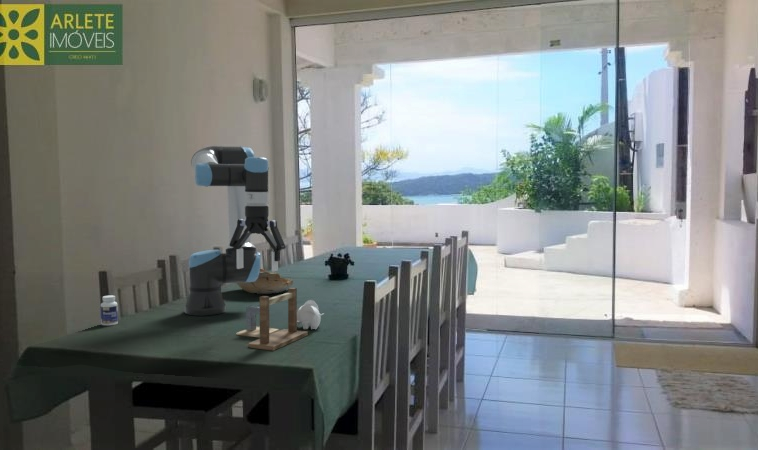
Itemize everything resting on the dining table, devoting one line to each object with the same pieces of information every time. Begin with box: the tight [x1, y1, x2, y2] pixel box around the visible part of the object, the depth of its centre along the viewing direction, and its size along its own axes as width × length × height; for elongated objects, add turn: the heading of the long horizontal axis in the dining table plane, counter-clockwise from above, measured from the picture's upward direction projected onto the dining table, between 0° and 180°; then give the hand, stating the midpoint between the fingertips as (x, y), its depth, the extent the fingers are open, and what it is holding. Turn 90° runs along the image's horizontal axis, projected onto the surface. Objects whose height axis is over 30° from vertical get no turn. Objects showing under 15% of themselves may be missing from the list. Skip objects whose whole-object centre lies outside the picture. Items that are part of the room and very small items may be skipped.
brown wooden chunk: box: [236, 268, 294, 295], centre depth 274 cm, size 30×27×15 cm
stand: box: [247, 287, 309, 352], centre depth 189 cm, size 20×9×15 cm, turn 157°
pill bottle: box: [100, 294, 119, 326], centre depth 210 cm, size 5×5×10 cm
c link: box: [245, 304, 260, 331], centre depth 199 cm, size 7×3×8 cm, turn 67°
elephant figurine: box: [297, 299, 325, 330], centre depth 207 cm, size 10×12×9 cm
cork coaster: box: [236, 326, 280, 339], centre depth 200 cm, size 10×10×1 cm
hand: (257, 269), depth 199 cm, fingers open, 13 cm apart
